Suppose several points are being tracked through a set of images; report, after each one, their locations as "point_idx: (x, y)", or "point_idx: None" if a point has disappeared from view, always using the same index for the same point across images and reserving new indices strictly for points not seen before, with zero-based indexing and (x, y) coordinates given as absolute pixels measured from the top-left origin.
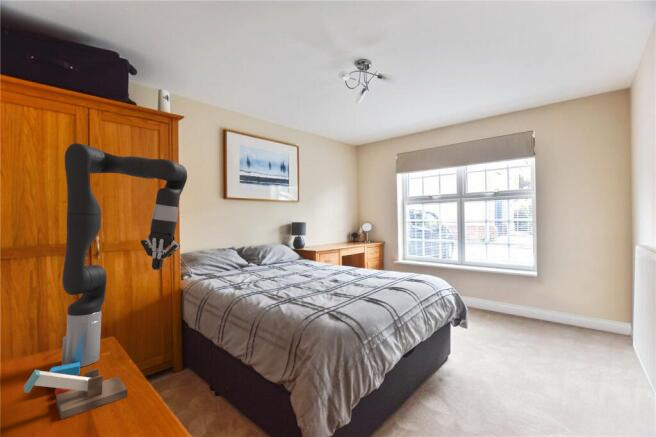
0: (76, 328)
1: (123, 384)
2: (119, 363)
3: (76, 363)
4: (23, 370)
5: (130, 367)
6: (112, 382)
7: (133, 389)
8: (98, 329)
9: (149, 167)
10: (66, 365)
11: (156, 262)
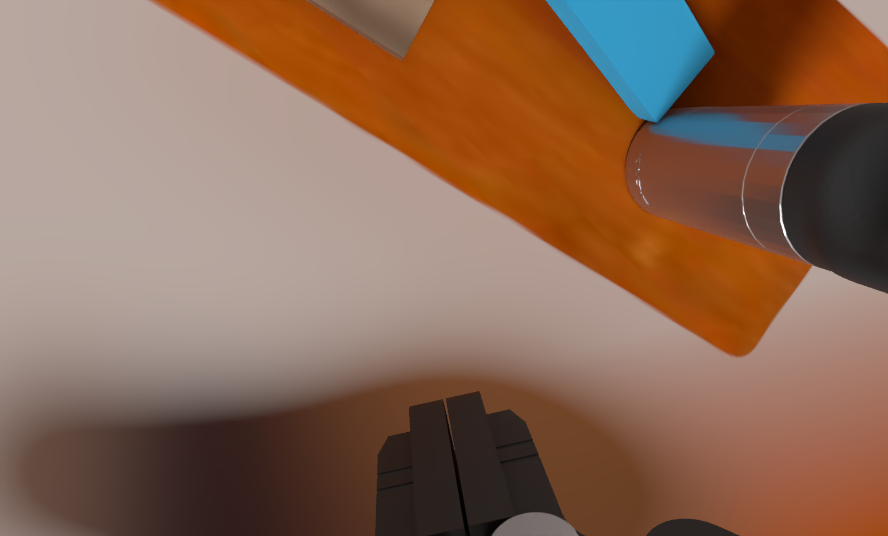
0: (779, 112)
1: (322, 4)
2: (529, 196)
3: (640, 80)
4: (813, 46)
5: (459, 182)
6: (381, 8)
7: (297, 35)
8: (709, 202)
9: None
10: (662, 55)
11: (441, 476)
